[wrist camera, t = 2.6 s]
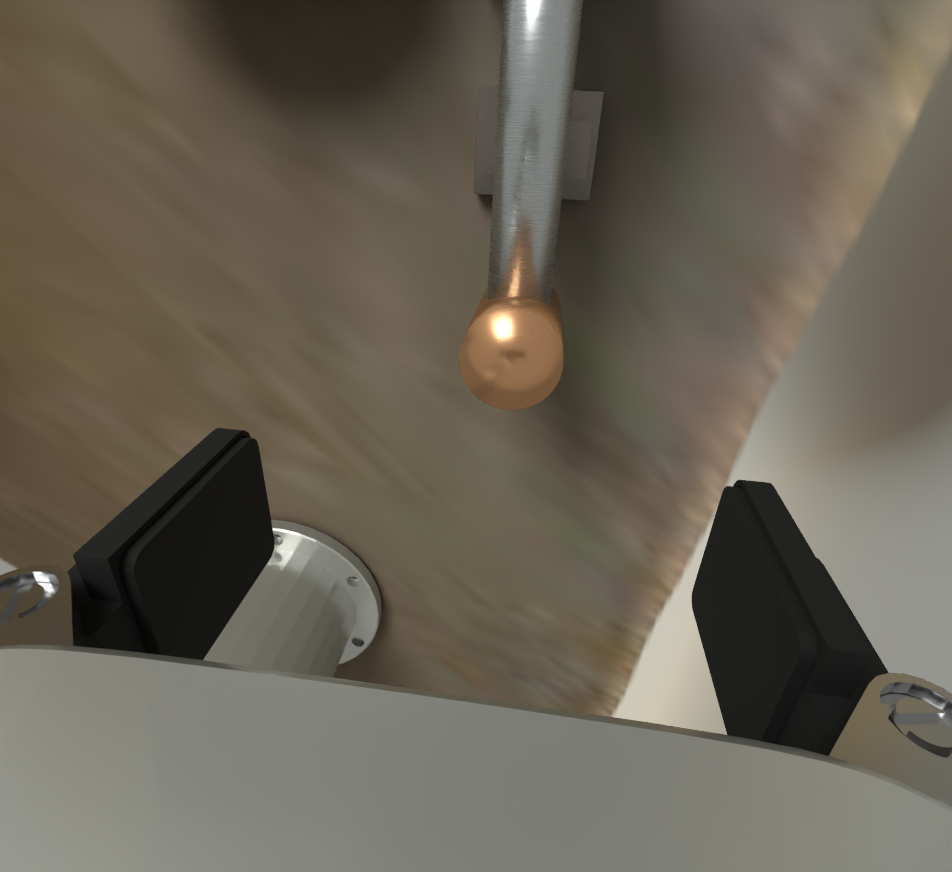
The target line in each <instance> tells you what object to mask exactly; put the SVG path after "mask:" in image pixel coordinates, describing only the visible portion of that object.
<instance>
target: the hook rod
mask: <svg viewBox="0 0 952 872" xmlns="http://www.w3.org/2000/svg"><path fill="white" fill-rule="evenodd" d="M582 9H583V0H503V17H502V36H501V54H500V72H499V91H498V109H497V127H496V146H495V164H494V182H493V201H492V219H491V238H490V256H489V274H488V288H487V289H486V291H485V292H484V294H483V296H482V298H481V301H480V303H479V305H478V308H477V310H476V312H475V314H474V317H473V319H472V321H471V324H470V326H469V328H468V330H467V333H466V335H465V337H464V340H463V342H462V345H461V348H460V353H459V366H460V371H461V374H462V377H463V380H464V382H465V383H466V385H467V387H468V388H469V389H470V390H471V392H472V393H473V394H474V395H475V396H476V397H478V398H479V399H480V400H482V401H483V402H485V403H487V404H489V405H491V406H494V407H497V408H501V409H508V410H516V409H523V408H527V407H530V406H533V405H535V404H537V403H539V402H541V401H542V400H544V399H545V398H546V397H547V396H548V395H549V394H550V393H551V392H552V391H553V390H554V388H555V387H556V386H557V384H558V382H559V380H560V377H561V374H562V370H563V334H562V309H561V303H560V299H559V296H558V294H557V292H556V291H555V289H554V288H553V286H552V284H553V275H554V266H555V256H556V247H557V238H558V229H559V220H560V210H561V201H562V192H563V183H564V174H565V165H566V155H567V146H568V137H569V128H570V119H571V109H572V100H573V91H574V82H575V73H576V64H577V54H578V45H579V36H580V27H581V18H582Z"/></svg>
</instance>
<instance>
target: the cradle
mask: <svg viewBox="0 0 952 872" xmlns="http://www.w3.org/2000/svg"><path fill="white" fill-rule="evenodd" d="M498 91H499V87H485V86H478V109H477V134H476V159H475V185H474V194H489V195H493V182H494V164H495V146H496V127H497V109H498ZM603 94H604V92H596V91H573V100H572V109H571V119H570V128H569V137H568V146H567V155H566V165H565V174H564V183H563V192H562V199H570V200H587V201H590V194H591V186H592V178H593V171H594V163H595V156H596V148H597V140H598V133H599V125H600V117H601V110H602V102H603Z"/></svg>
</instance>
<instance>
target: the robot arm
mask: <svg viewBox="0 0 952 872" xmlns="http://www.w3.org/2000/svg"><path fill="white" fill-rule="evenodd" d="M73 557H74V559H75V562H76V564H75V565H74V566H73V567H72V568H71V569H70V570H69V571H68V572H66V571H64V570H63V569H62V568H60V567H55V566H50V565H41V566H30V567H26V568H21V569H17V570H14V571H11V572H8V573H5V574H3V575H0V872H952V694H951V693H949V692H948V691H946V690H945V689H943V688H942V687H939V686H937V685H935V684H933V683H931V682H929V681H926V680H924V679H922V678H918V677H914V676H911V675H907V674H898V673H888V671H887V669H886V668H885V666H884V664H883V663H882V661H881V659H880V658H879V656H878V654H877V653H876V651H875V649H874V648H873V646H872V644H871V643H870V641H869V640H868V638H867V636H866V634H865V633H864V631H863V630H862V628H861V626H860V625H859V623H858V621H857V620H856V618H855V616H854V615H853V613H852V611H851V610H850V608H849V606H848V605H847V603H846V601H845V600H844V598H843V597H842V595H841V593H840V591H839V590H838V588H837V586H836V585H835V583H834V581H833V580H832V578H831V576H830V575H829V573H828V572H827V570H826V568H825V566H824V565H823V564H822V563H821V561H820V560H819V559H818V558H816V557H815V555H814V553H813V552H812V550H811V549H810V547H809V545H808V543H807V542H806V540H805V538H804V537H803V535H802V533H801V532H800V530H799V528H798V527H797V525H796V523H795V521H794V520H793V518H792V517H791V515H790V513H789V511H788V510H787V508H786V506H785V505H784V503H783V501H782V500H781V498H780V496H779V495H778V493H777V491H776V490H775V488H774V486H773V485H772V484H771V483H766V482H756V481H745V480H738V481H736V483H735V484H734V486H733V487H731V486H727V487H725V488H724V490H723V493H722V496H721V499H720V502H719V505H718V509H717V512H716V515H715V519H714V522H713V525H712V528H711V532H710V535H709V538H708V542H707V545H706V548H705V551H704V555H703V558H702V561H701V565H700V568H699V571H698V574H697V578H696V581H695V585H694V588H693V592H692V608H693V612H694V616H695V619H696V623H697V627H698V630H699V634H700V637H701V641H702V645H703V648H704V652H705V656H706V659H707V662H708V666H709V670H710V674H711V677H712V681H713V685H714V688H715V691H716V695H717V699H718V703H719V706H720V710H721V713H722V717H723V720H724V724H725V728H726V731H727V735H723V734H717V733H710V732H705V731H698V730H692V729H685V728H679V727H673V726H666V725H661V724H654V723H648V722H641V721H634V720H627V719H621V718H614V717H607V716H600V715H593V714H586V713H579V712H573V711H566V710H559V709H552V708H545V707H538V706H531V705H524V704H518V703H511V702H504V701H497V700H490V699H483V698H476V697H468V696H461V695H454V694H447V693H440V692H433V691H426V690H419V689H412V688H404V687H397V686H390V685H383V684H375V683H368V682H361V681H354V680H347V679H339V678H333V676H334V674H335V671H336V669H337V666H338V664H342V663H345V662H347V661H349V660H351V659H353V658H355V657H357V656H358V655H359V654H361V653H362V652H363V651H364V650H365V649H367V647H368V646H369V644H370V643H371V642H372V640H373V639H374V636H375V634H376V631H377V629H378V626H379V623H380V618H381V614H382V606H381V597H380V594H379V590H378V587H377V584H376V583H375V581H374V579H373V577H372V575H371V573H370V572H369V570H368V569H367V568H366V567H365V565H364V564H363V563H362V562H361V560H360V559H359V558H358V557H357V556H355V555H354V554H353V553H352V552H351V551H350V550H349V549H348V548H347V547H345V546H344V545H342V544H341V543H339V542H338V541H336V540H335V539H333V538H332V537H330V536H328V535H326V534H324V533H322V532H319V531H317V530H315V529H313V528H310V527H307V526H304V525H300V524H297V523H293V522H287V521H280V520H271V517H270V511H269V505H268V499H267V493H266V487H265V481H264V476H263V470H262V464H261V458H260V452H259V446H258V443H257V441H256V440H255V439H254V438H251V437H250V435H249V433H248V432H246V431H243V430H233V429H223V428H217V429H215V430H213V431H212V432H211V433H210V434H209V435H208V436H207V437H206V438H204V439H203V440H202V441H201V442H200V443H199V444H198V445H197V446H195V447H194V448H193V449H192V450H191V451H190V452H189V453H187V454H186V455H185V456H184V457H183V458H182V459H181V460H180V461H178V462H177V463H176V464H175V465H174V466H173V467H172V468H170V469H169V470H168V471H167V472H166V473H165V474H164V475H163V476H161V477H160V478H159V479H158V480H157V481H156V482H155V483H154V484H152V485H151V486H150V487H149V488H148V489H147V490H146V491H144V492H143V493H142V494H141V495H140V496H139V497H138V498H137V499H135V500H134V501H133V502H132V503H131V504H130V505H129V506H128V507H126V508H125V509H124V510H123V511H122V512H121V513H120V514H118V515H117V516H116V517H115V518H114V519H113V520H112V521H111V522H109V523H108V524H107V525H106V526H105V527H104V528H103V529H102V530H100V531H99V532H98V533H97V534H96V535H95V536H94V537H92V538H91V539H90V540H89V541H88V542H87V543H86V544H85V545H83V546H82V547H81V548H80V549H79V550H78V551H77V552H76V553H74V554H73Z"/></svg>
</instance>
